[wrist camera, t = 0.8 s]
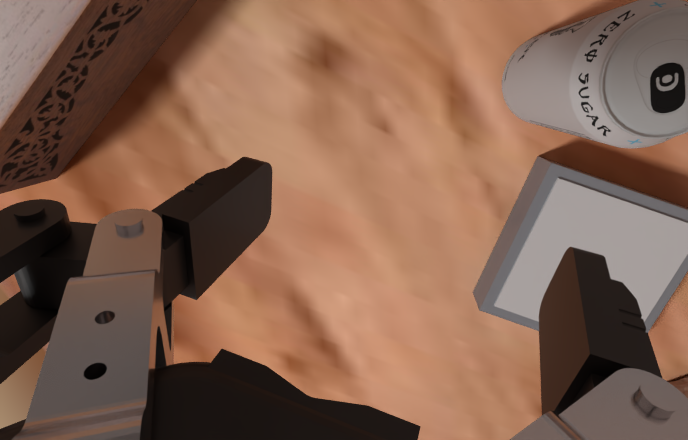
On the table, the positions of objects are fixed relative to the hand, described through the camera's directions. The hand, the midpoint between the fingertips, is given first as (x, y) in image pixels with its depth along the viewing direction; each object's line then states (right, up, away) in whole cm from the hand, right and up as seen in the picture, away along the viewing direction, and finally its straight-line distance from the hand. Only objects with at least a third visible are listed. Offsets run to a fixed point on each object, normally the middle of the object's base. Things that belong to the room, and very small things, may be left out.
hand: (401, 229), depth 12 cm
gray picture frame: (+17, -2, +22) cm, 28 cm away
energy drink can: (+13, +10, +19) cm, 25 cm away
